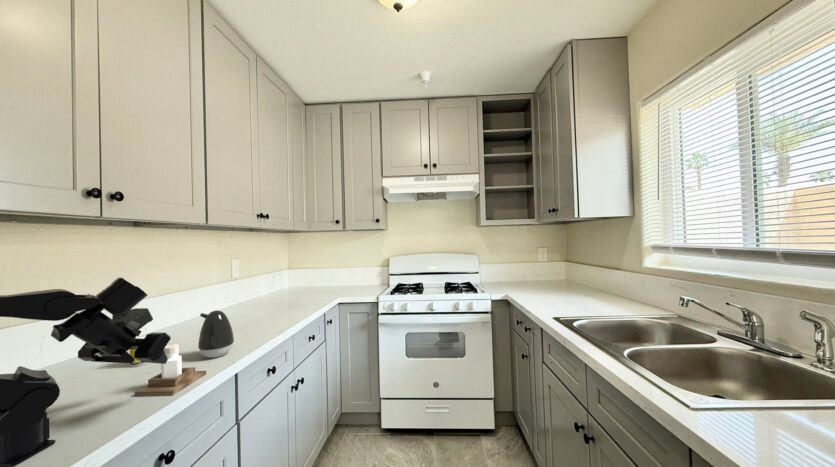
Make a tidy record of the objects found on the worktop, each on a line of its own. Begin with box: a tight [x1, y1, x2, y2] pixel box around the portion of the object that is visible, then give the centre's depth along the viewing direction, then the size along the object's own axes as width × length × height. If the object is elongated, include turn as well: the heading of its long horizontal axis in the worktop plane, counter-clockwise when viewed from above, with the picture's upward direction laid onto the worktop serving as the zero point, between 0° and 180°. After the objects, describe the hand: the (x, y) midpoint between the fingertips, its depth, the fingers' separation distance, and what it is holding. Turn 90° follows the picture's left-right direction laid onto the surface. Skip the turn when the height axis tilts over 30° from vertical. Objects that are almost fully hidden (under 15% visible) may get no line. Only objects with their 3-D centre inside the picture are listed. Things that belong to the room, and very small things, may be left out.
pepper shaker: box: [160, 343, 183, 378], centre depth 84 cm, size 4×4×10 cm
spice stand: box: [134, 367, 207, 397], centre depth 85 cm, size 12×10×3 cm
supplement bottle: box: [129, 335, 148, 368], centre depth 100 cm, size 5×5×8 cm
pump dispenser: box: [198, 309, 235, 359], centre depth 106 cm, size 10×10×15 cm
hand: (149, 361), depth 78 cm, fingers open, 9 cm apart
